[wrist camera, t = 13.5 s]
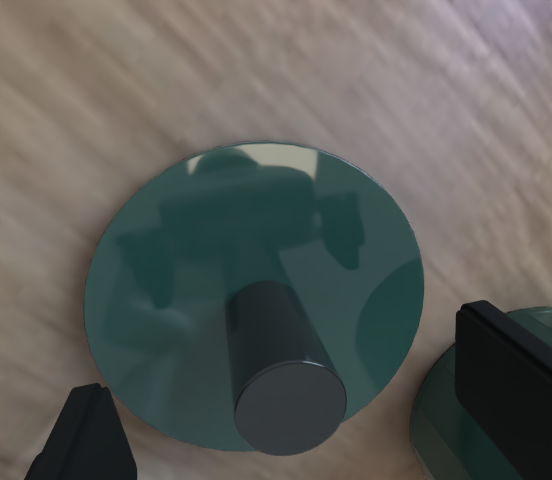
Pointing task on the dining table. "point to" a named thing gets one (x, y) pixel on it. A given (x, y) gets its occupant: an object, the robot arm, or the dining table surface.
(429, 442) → the pot
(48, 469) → the robot arm
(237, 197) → the lid
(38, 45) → the dining table surface
